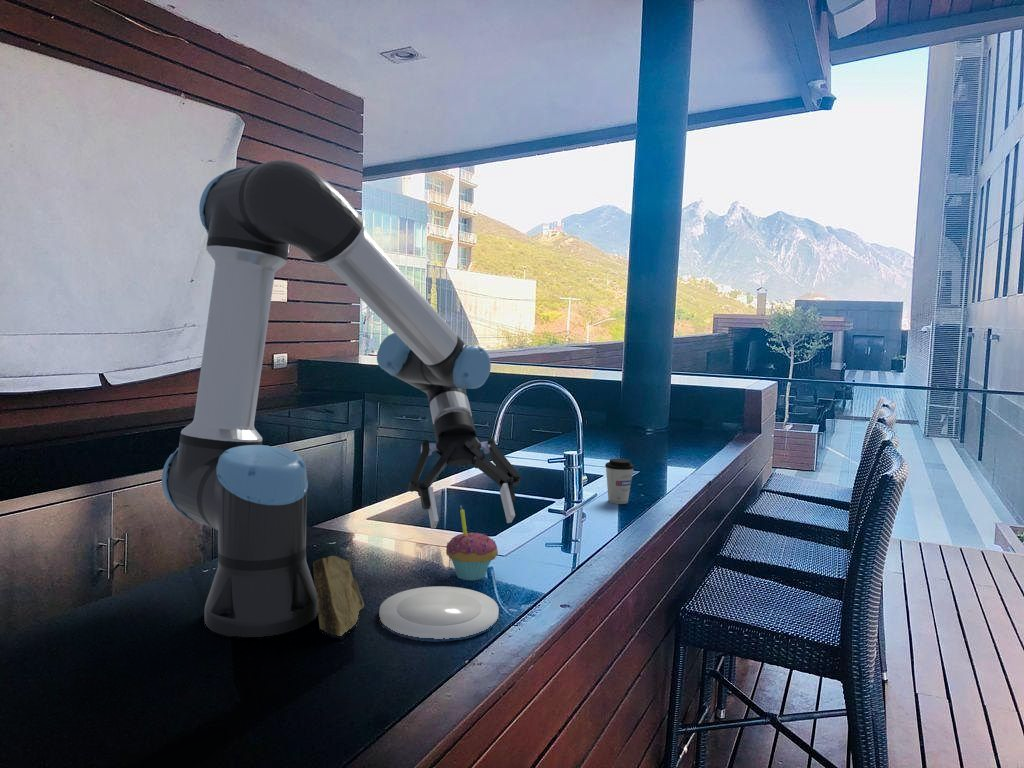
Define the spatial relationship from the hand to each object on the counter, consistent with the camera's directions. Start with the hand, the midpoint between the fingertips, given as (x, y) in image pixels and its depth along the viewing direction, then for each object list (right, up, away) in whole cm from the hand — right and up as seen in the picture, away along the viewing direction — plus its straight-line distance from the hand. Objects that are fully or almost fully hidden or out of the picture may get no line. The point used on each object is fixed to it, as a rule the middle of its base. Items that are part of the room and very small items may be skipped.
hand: (473, 522), depth 125 cm
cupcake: (0, -9, -3) cm, 9 cm away
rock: (-17, -10, -23) cm, 30 cm away
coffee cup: (+32, -5, +51) cm, 60 cm away
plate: (-4, -10, -20) cm, 22 cm away
